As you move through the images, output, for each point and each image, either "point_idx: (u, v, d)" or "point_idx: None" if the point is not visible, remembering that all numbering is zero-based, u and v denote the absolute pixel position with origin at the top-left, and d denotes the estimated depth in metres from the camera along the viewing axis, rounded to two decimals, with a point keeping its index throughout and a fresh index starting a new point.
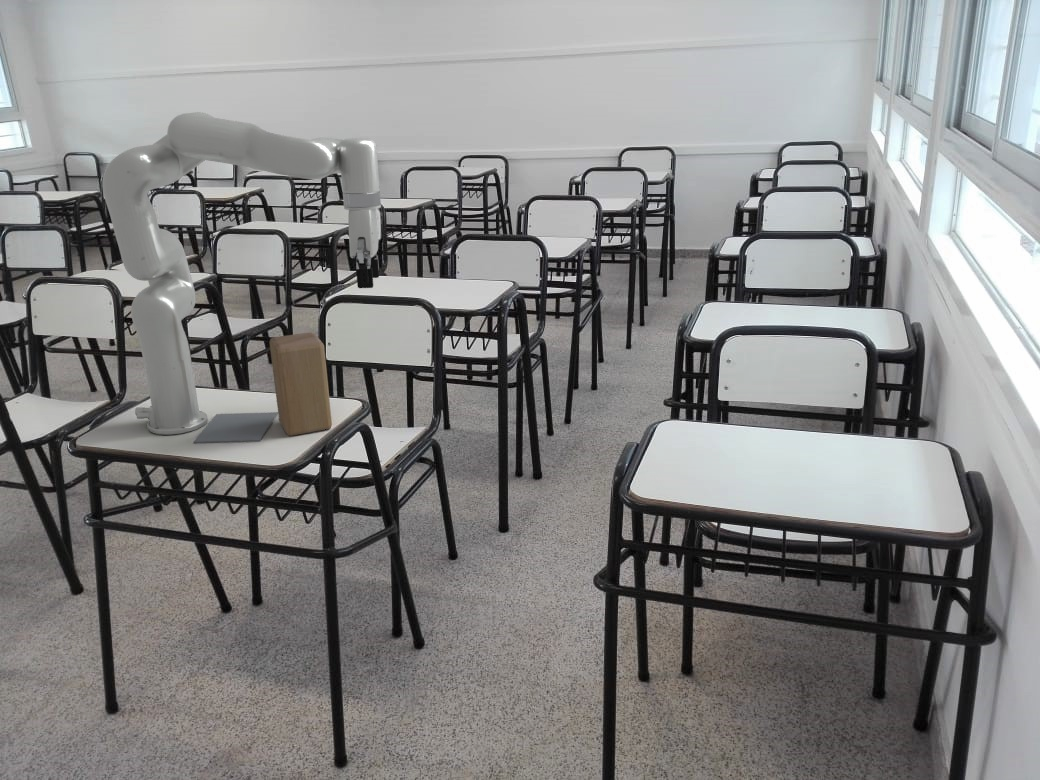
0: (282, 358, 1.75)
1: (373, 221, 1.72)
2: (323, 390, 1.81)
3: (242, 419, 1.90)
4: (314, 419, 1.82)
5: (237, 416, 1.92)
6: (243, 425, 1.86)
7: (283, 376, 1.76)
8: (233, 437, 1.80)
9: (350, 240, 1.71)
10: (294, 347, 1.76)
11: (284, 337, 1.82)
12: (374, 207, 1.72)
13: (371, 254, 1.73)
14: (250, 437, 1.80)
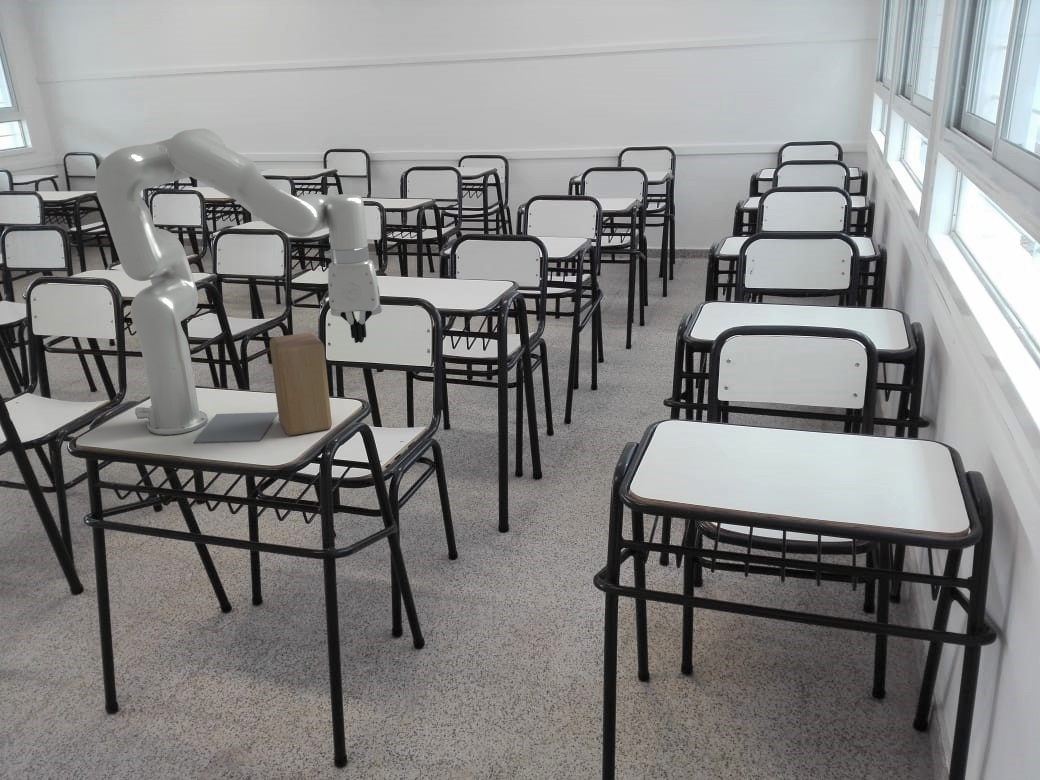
0: (282, 358, 1.75)
1: None
2: (323, 390, 1.81)
3: (242, 419, 1.90)
4: (314, 419, 1.82)
5: (237, 416, 1.92)
6: (243, 425, 1.86)
7: (283, 375, 1.76)
8: (233, 437, 1.80)
9: (375, 291, 1.75)
10: (294, 347, 1.76)
11: (284, 337, 1.82)
12: None
13: None
14: (250, 437, 1.80)
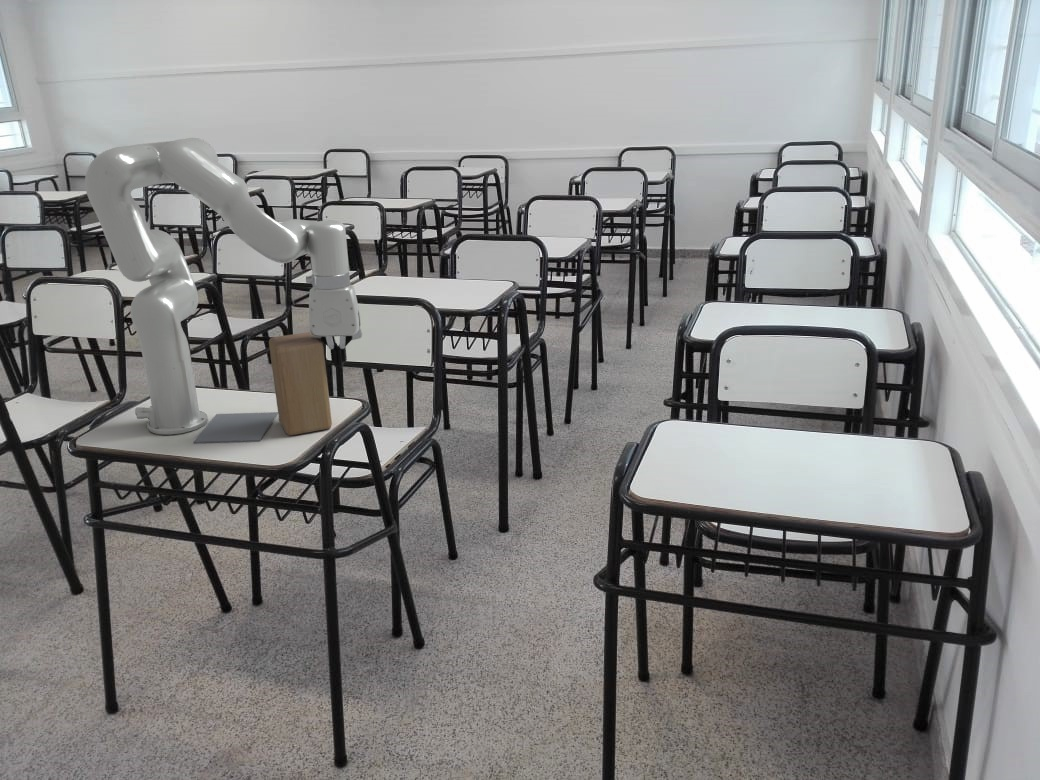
0: (281, 358, 1.75)
1: None
2: (323, 389, 1.81)
3: (242, 419, 1.90)
4: (314, 418, 1.82)
5: (237, 416, 1.92)
6: (243, 425, 1.86)
7: (283, 375, 1.76)
8: (233, 437, 1.80)
9: (356, 317, 1.76)
10: (294, 347, 1.76)
11: (283, 337, 1.81)
12: None
13: None
14: (250, 437, 1.80)
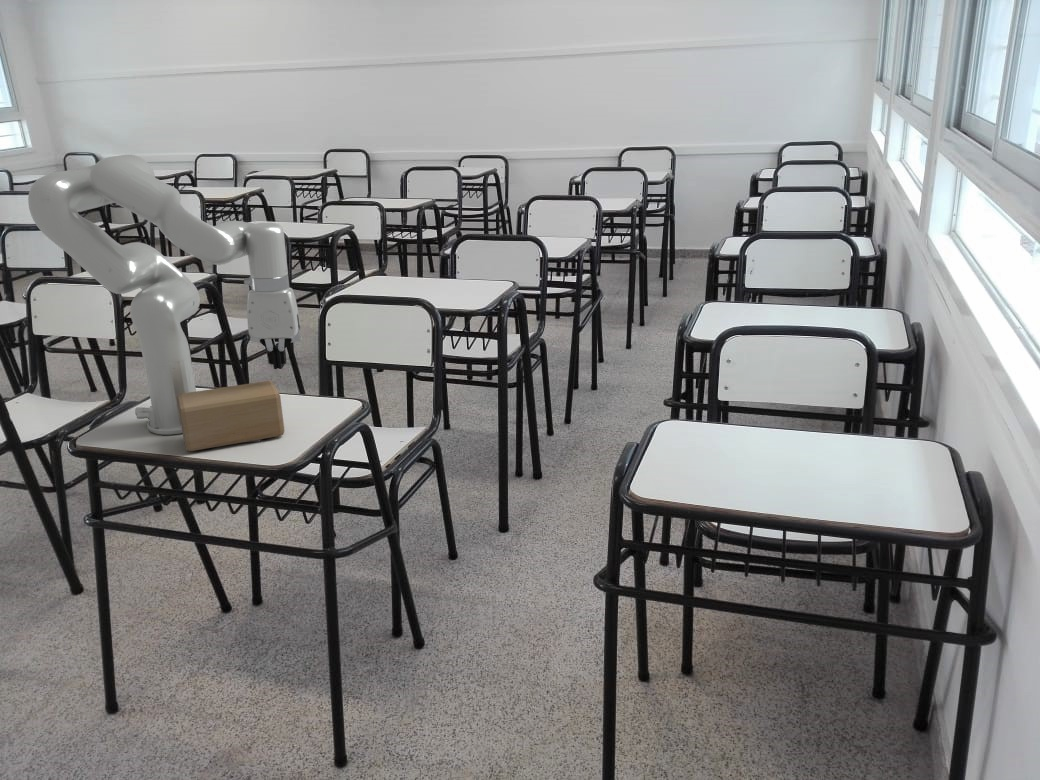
0: (197, 447, 1.73)
1: None
2: (234, 405, 1.74)
3: None
4: (266, 411, 1.77)
5: None
6: None
7: (217, 444, 1.75)
8: None
9: (294, 320, 1.76)
10: (185, 435, 1.72)
11: None
12: None
13: None
14: None
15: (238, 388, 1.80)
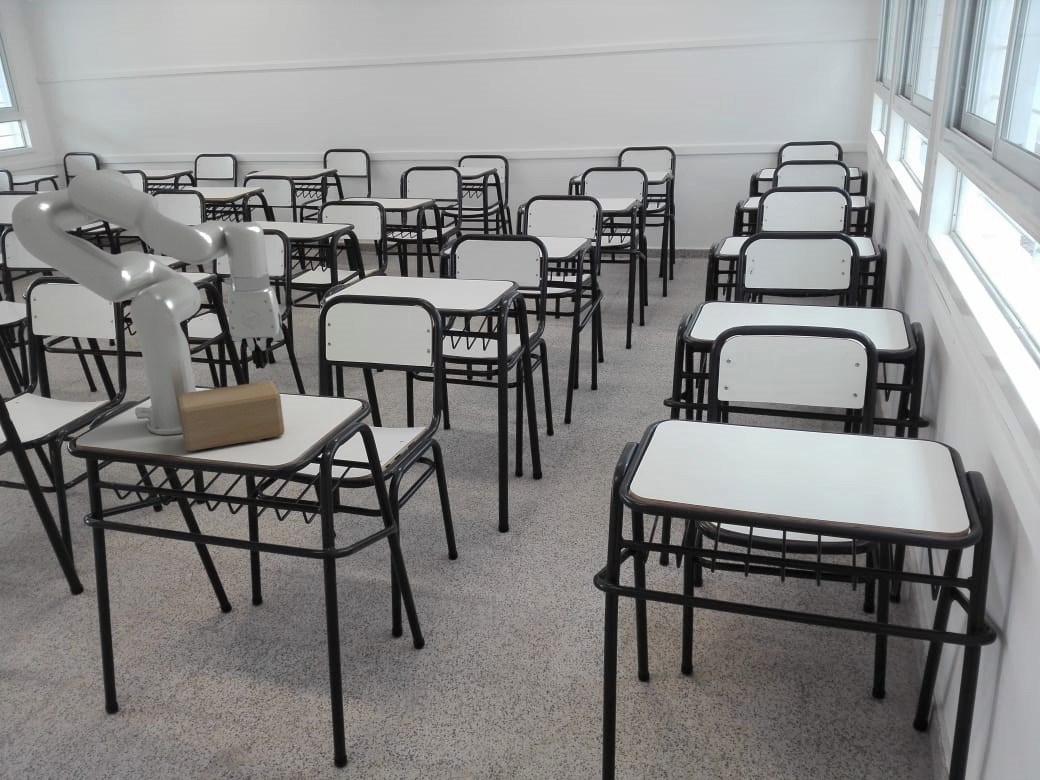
0: (197, 447, 1.73)
1: None
2: (234, 405, 1.74)
3: None
4: (266, 411, 1.77)
5: None
6: None
7: (217, 444, 1.75)
8: None
9: (275, 319, 1.76)
10: (185, 435, 1.72)
11: None
12: None
13: None
14: None
15: (238, 388, 1.80)
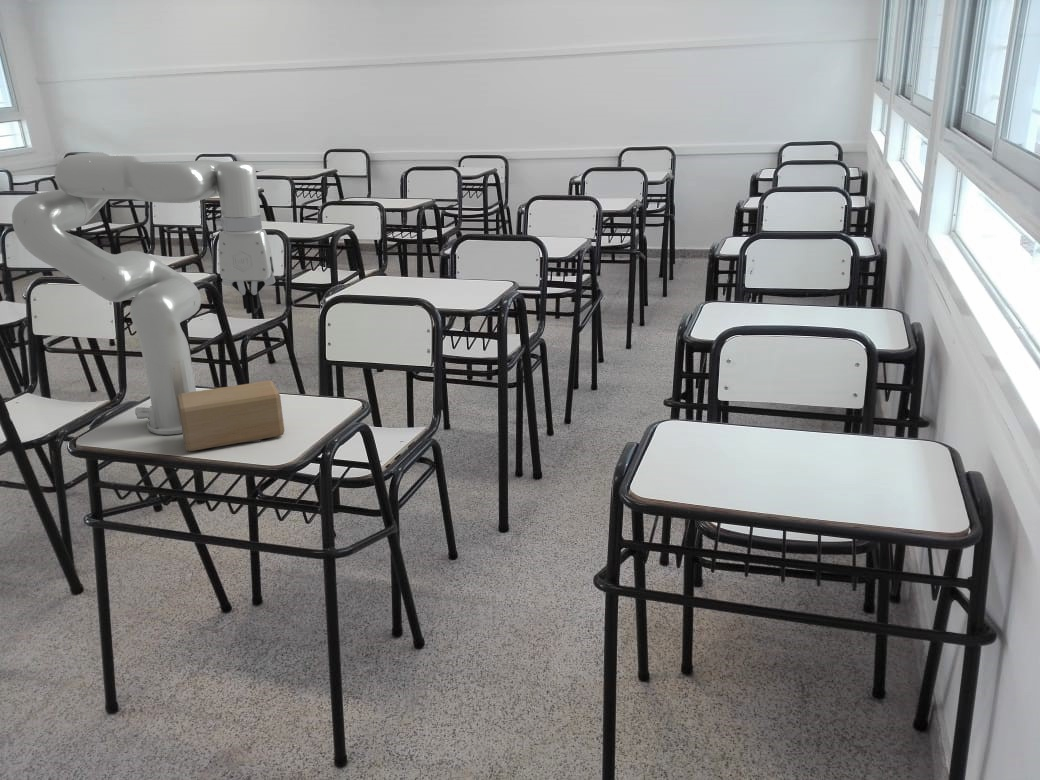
0: (197, 447, 1.73)
1: None
2: (234, 405, 1.74)
3: None
4: (266, 411, 1.77)
5: None
6: None
7: (216, 444, 1.75)
8: None
9: (267, 261, 1.72)
10: (185, 435, 1.72)
11: None
12: None
13: None
14: None
15: (238, 388, 1.80)
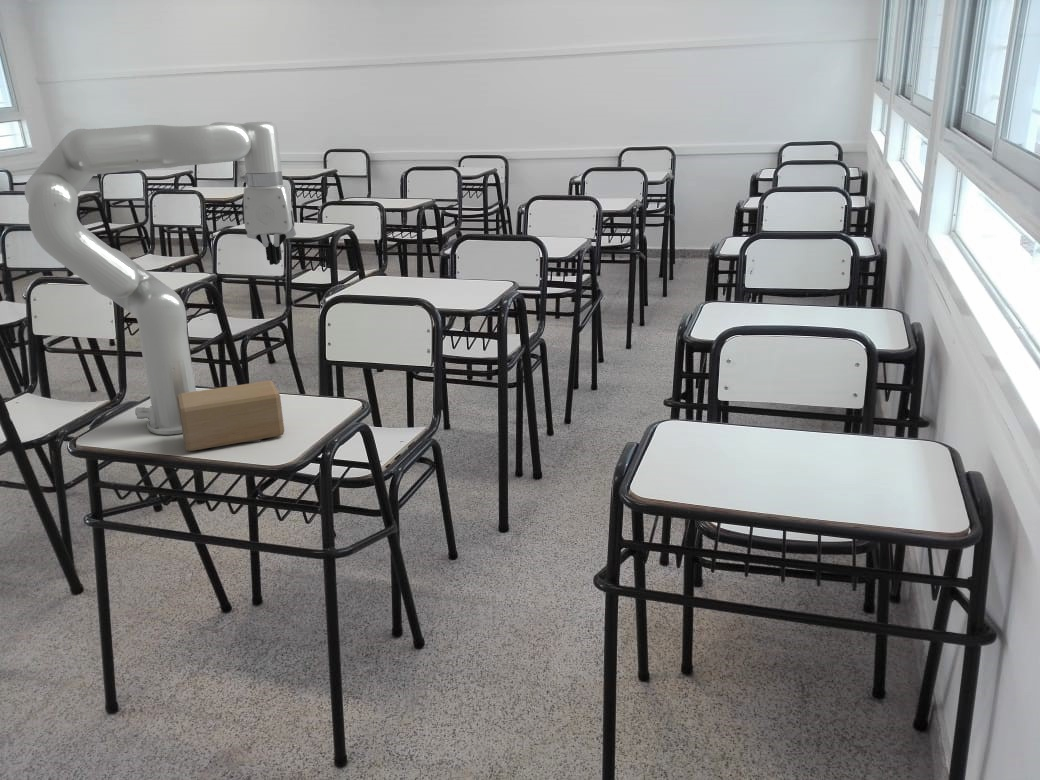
0: (197, 446, 1.73)
1: None
2: (234, 405, 1.74)
3: None
4: (266, 411, 1.77)
5: None
6: None
7: (216, 444, 1.75)
8: None
9: (288, 215, 1.85)
10: (185, 435, 1.72)
11: None
12: None
13: None
14: None
15: (238, 388, 1.80)
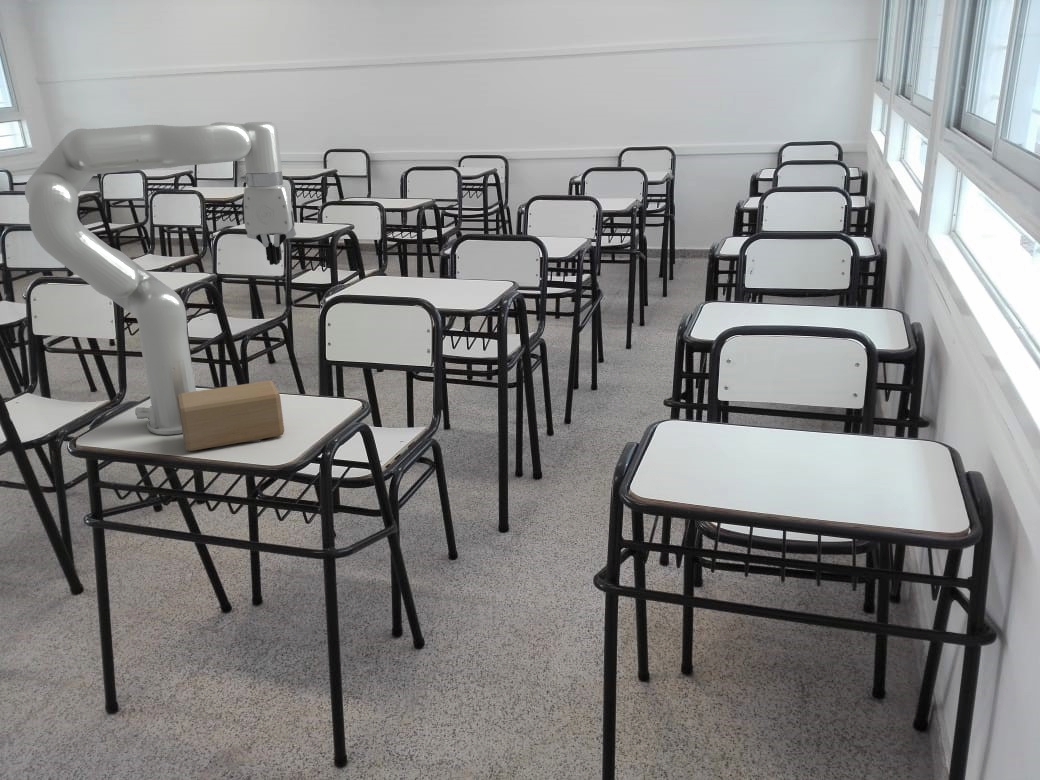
0: (197, 446, 1.73)
1: None
2: (234, 405, 1.74)
3: None
4: (266, 411, 1.77)
5: None
6: None
7: (216, 444, 1.75)
8: None
9: (288, 215, 1.86)
10: (185, 435, 1.72)
11: None
12: None
13: None
14: None
15: (238, 388, 1.80)
